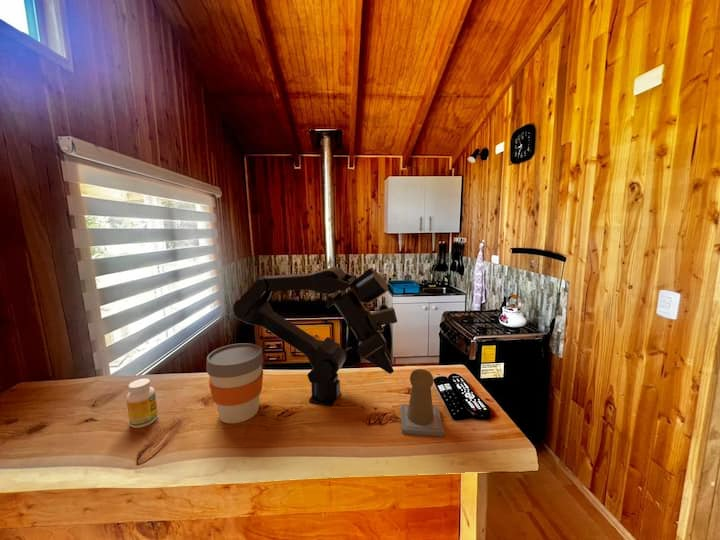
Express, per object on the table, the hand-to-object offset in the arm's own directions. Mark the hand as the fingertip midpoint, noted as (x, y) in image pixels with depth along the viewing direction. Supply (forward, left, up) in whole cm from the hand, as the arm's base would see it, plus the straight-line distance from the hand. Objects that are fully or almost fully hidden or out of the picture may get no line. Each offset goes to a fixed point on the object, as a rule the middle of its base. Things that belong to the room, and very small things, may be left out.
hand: (390, 366), depth 72 cm
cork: (+8, -3, -10) cm, 13 cm away
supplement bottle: (-54, -20, -11) cm, 59 cm away
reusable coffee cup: (-35, -11, -11) cm, 39 cm away
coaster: (+8, -3, -11) cm, 14 cm away
